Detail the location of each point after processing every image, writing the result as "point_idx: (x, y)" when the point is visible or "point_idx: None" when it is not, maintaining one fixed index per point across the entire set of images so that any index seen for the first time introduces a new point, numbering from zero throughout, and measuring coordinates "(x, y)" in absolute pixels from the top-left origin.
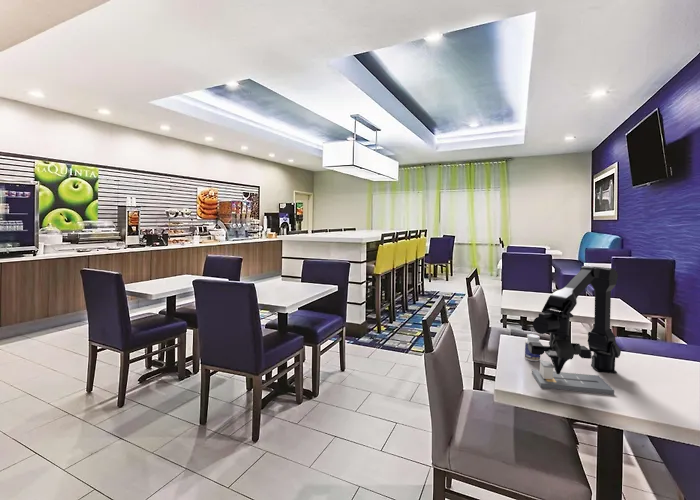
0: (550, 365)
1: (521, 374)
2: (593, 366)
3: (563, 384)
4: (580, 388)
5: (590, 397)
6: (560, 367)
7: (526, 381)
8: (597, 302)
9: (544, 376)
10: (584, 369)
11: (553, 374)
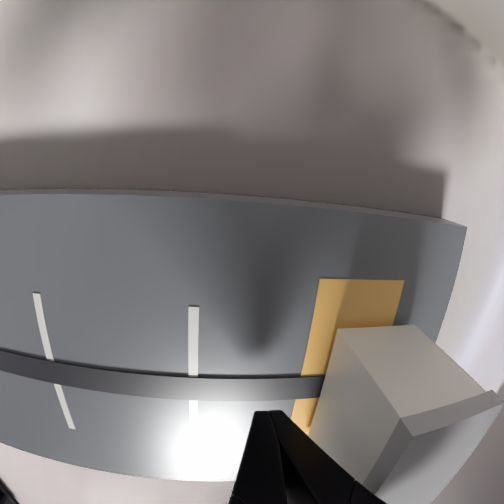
0: (433, 446)
1: None
2: (9, 501)
3: (264, 231)
4: (90, 190)
5: (69, 70)
6: (267, 474)
7: (471, 308)
8: None
9: (419, 335)
10: (42, 498)
11: None
